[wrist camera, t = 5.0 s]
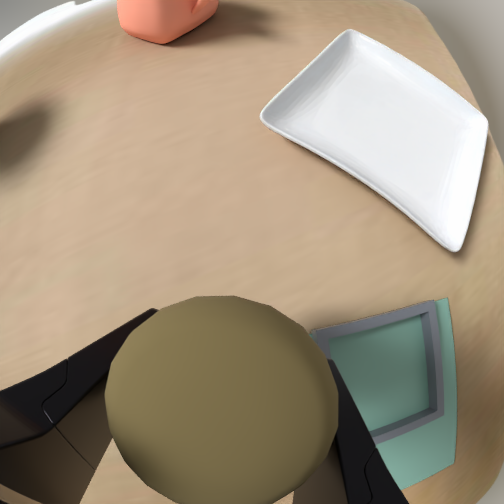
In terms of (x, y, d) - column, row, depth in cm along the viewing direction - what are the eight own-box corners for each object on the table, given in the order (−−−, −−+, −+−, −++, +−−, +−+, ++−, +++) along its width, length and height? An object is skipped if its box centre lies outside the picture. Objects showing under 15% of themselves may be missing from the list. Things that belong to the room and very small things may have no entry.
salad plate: (251, 138, 26) (252, 115, 23) (343, 43, 30) (349, 24, 27) (439, 266, 24) (461, 258, 20) (476, 132, 28) (489, 119, 25)
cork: (297, 310, 16) (399, 280, 5) (283, 417, 14) (344, 547, 4) (185, 296, 16) (79, 242, 5) (173, 403, 14) (71, 506, 4)
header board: (452, 462, 19) (461, 467, 17) (325, 514, 18) (329, 524, 16) (444, 294, 23) (455, 292, 21) (300, 331, 22) (304, 332, 20)
